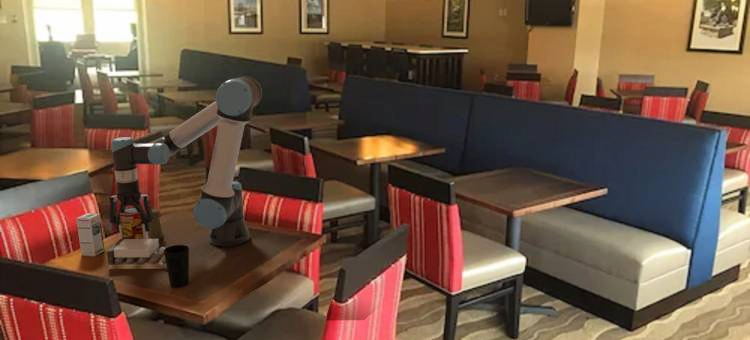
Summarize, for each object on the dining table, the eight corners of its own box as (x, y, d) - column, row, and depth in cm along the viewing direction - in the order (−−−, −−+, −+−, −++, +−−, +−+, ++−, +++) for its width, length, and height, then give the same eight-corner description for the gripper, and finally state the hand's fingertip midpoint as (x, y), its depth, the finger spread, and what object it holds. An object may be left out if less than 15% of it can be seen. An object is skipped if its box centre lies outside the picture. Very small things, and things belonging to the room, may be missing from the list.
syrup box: (95, 256, 221) (90, 218, 218) (80, 255, 222) (75, 217, 219) (105, 251, 227) (100, 213, 223) (90, 250, 228) (86, 212, 224)
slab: (159, 246, 220) (158, 238, 219) (149, 257, 210) (148, 248, 209) (125, 247, 220) (124, 239, 219) (114, 257, 210) (113, 249, 209)
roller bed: (183, 255, 222) (182, 238, 220) (173, 268, 210) (171, 250, 209) (122, 256, 222) (120, 239, 220) (108, 269, 210) (106, 251, 208)
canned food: (119, 243, 226) (115, 212, 223) (137, 237, 232) (133, 206, 229) (132, 247, 221) (128, 215, 218) (150, 240, 228) (147, 209, 225)
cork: (166, 236, 242) (164, 209, 239) (153, 240, 237) (151, 213, 234) (156, 233, 245) (154, 207, 242) (143, 237, 240) (141, 211, 238)
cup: (170, 279, 201) (167, 245, 198) (194, 278, 202) (191, 244, 199) (164, 289, 193) (161, 253, 191) (189, 288, 194) (186, 253, 191)
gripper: (94, 183, 217) (102, 244, 223) (152, 182, 217) (159, 242, 223) (102, 178, 225) (111, 237, 230) (159, 176, 225) (166, 235, 230)
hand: (134, 240), depth 226 cm, fingers closed on canned food, 8 cm apart
